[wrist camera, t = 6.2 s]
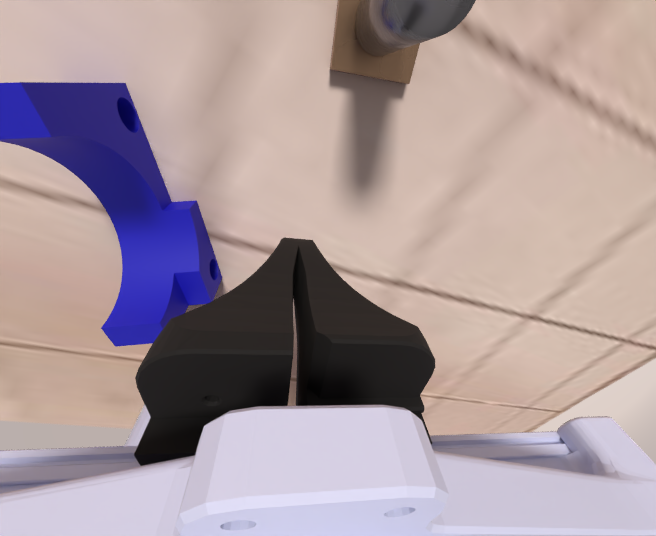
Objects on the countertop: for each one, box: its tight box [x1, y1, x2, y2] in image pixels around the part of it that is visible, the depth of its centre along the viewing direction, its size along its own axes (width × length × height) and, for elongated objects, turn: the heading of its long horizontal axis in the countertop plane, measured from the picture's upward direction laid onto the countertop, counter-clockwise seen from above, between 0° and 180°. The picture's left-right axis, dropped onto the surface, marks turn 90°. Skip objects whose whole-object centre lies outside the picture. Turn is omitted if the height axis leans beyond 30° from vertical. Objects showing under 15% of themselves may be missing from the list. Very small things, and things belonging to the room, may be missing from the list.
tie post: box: [330, 0, 476, 84], centre depth 10 cm, size 4×4×7 cm
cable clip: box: [0, 82, 222, 346], centre depth 14 cm, size 12×4×6 cm, turn 2°
